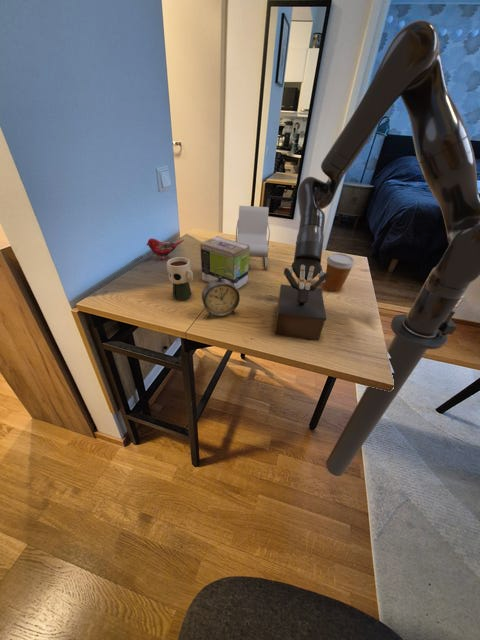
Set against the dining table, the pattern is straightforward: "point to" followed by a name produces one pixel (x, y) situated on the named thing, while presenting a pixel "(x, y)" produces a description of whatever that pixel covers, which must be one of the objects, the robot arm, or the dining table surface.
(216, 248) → the tea box
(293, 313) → the lid
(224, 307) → the alarm clock
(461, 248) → the robot arm
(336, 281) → the disposable coffee cup
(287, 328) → the dark brown box
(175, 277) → the character mug
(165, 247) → the decorative bird figurine
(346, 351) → the dining table surface
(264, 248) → the chair
